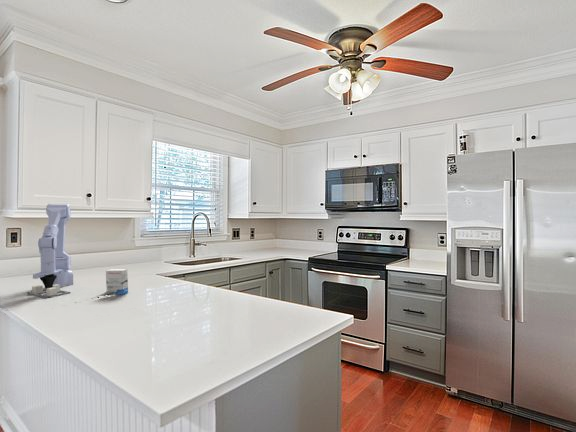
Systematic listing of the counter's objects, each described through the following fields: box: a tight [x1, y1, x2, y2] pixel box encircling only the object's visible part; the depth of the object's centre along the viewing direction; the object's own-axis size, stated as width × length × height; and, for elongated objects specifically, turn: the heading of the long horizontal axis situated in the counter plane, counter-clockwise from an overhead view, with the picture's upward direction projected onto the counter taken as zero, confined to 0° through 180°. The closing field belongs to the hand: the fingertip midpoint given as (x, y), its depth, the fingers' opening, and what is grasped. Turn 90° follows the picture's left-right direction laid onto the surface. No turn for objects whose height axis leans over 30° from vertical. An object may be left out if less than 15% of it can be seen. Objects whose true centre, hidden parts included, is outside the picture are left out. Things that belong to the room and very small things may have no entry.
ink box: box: [105, 268, 129, 296], centre depth 168 cm, size 9×5×12 cm, turn 84°
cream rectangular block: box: [52, 284, 61, 292], centre depth 166 cm, size 3×3×4 cm
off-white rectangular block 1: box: [31, 284, 44, 293], centre depth 164 cm, size 3×3×4 cm
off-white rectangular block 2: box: [45, 287, 57, 296], centre depth 159 cm, size 3×3×4 cm
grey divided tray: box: [27, 288, 71, 299], centre depth 163 cm, size 10×17×2 cm, turn 62°
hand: (48, 291), depth 163 cm, fingers closed
